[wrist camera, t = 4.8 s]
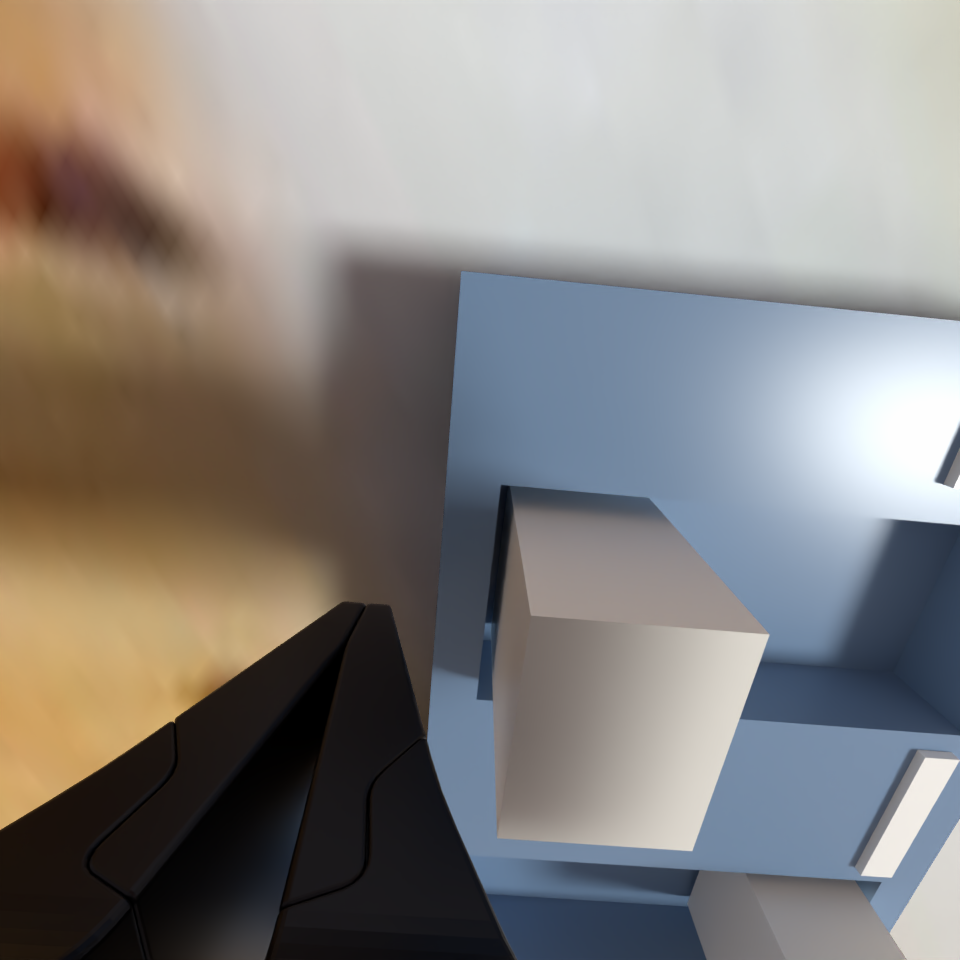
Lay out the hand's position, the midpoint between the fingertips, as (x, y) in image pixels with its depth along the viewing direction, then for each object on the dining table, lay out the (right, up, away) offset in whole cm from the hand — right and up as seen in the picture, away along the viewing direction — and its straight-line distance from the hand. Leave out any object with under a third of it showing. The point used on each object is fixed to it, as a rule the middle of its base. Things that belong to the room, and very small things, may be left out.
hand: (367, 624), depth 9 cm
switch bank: (+7, -4, +6) cm, 10 cm away
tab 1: (+4, +1, +3) cm, 5 cm away
